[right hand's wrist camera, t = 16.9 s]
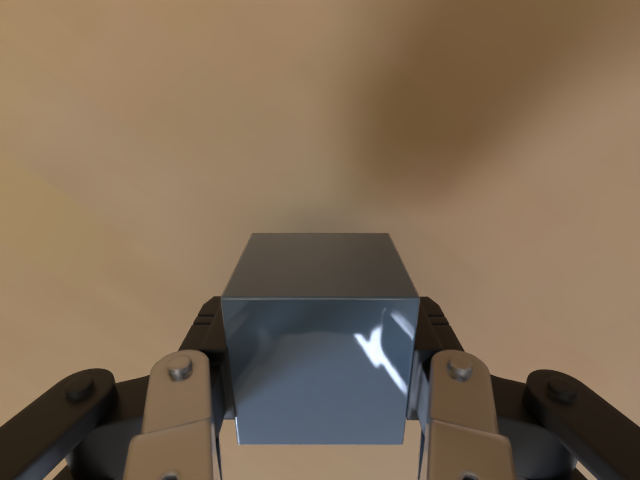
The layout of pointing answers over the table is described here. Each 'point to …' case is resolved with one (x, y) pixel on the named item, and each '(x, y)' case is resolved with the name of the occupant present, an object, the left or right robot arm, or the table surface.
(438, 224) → the table surface
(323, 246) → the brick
